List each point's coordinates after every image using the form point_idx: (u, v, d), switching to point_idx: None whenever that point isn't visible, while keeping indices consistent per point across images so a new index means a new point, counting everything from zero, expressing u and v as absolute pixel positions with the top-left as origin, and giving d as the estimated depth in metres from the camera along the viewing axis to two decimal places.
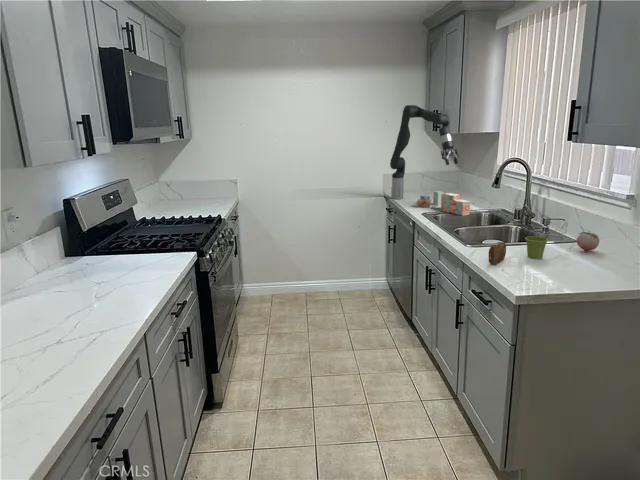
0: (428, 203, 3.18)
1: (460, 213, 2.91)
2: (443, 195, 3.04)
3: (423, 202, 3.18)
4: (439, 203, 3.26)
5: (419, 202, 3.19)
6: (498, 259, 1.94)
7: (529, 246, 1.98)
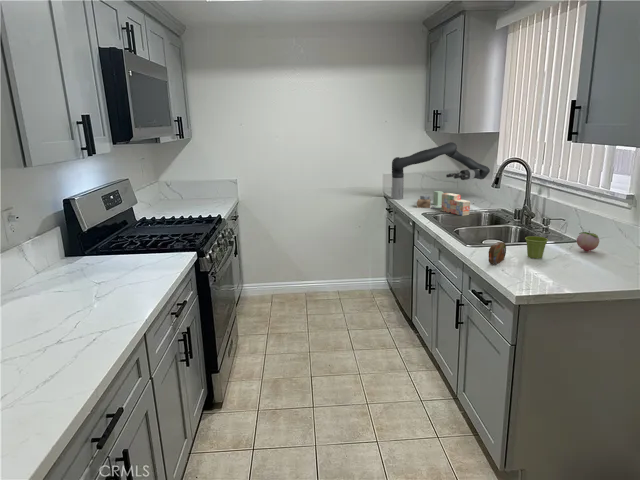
0: (428, 203, 3.18)
1: (460, 213, 2.91)
2: (443, 195, 3.04)
3: (423, 202, 3.18)
4: (439, 203, 3.26)
5: (419, 202, 3.19)
6: (498, 259, 1.94)
7: (529, 246, 1.98)
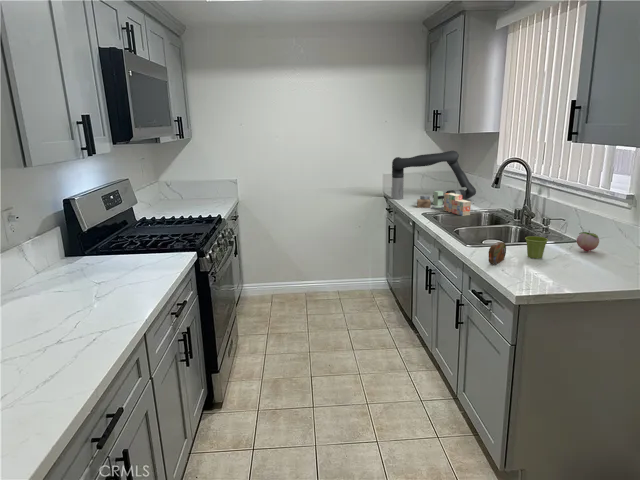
0: (429, 203, 3.18)
1: (461, 213, 2.91)
2: (445, 195, 3.04)
3: (424, 202, 3.18)
4: (439, 203, 3.26)
5: (420, 202, 3.19)
6: (498, 259, 1.94)
7: (529, 246, 1.98)
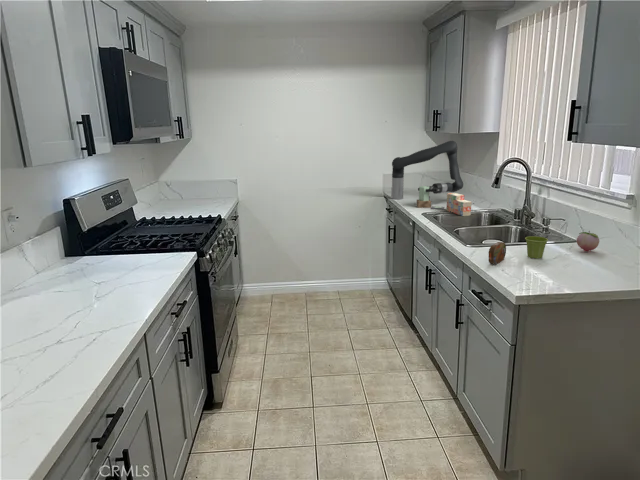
0: (430, 203, 3.18)
1: (461, 213, 2.90)
2: (448, 195, 3.04)
3: (425, 202, 3.18)
4: (425, 198, 3.20)
5: (421, 202, 3.19)
6: (498, 259, 1.94)
7: (529, 246, 1.98)
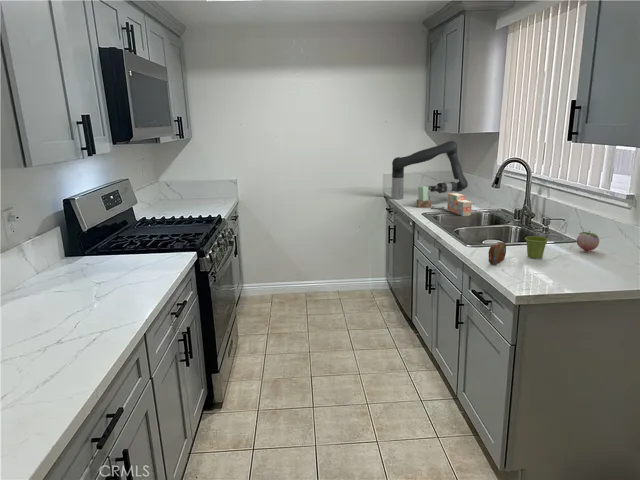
0: (430, 203, 3.18)
1: (461, 213, 2.90)
2: (449, 195, 3.04)
3: (425, 202, 3.18)
4: (424, 198, 3.19)
5: (421, 202, 3.19)
6: (498, 259, 1.94)
7: (529, 246, 1.98)
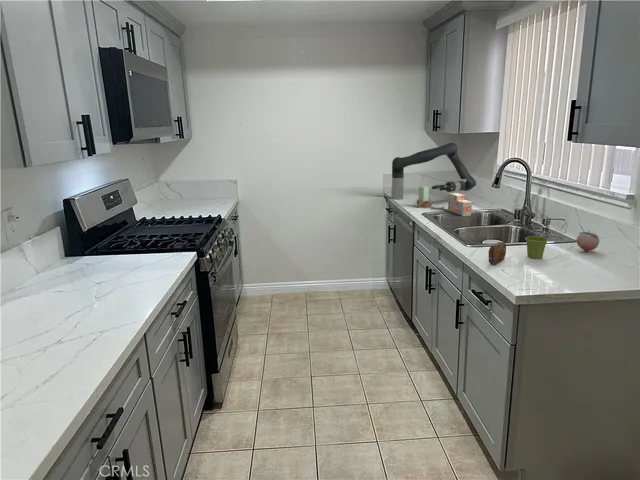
0: (430, 203, 3.18)
1: (461, 213, 2.90)
2: (449, 195, 3.04)
3: (425, 202, 3.18)
4: (425, 198, 3.20)
5: (421, 202, 3.19)
6: (498, 259, 1.94)
7: (529, 246, 1.98)
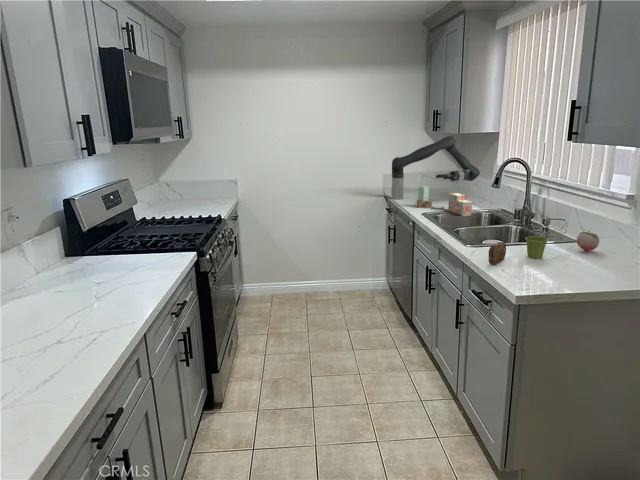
0: (430, 203, 3.18)
1: (461, 213, 2.90)
2: (450, 195, 3.04)
3: (425, 202, 3.18)
4: (425, 198, 3.20)
5: (421, 202, 3.19)
6: (498, 259, 1.94)
7: (529, 246, 1.98)
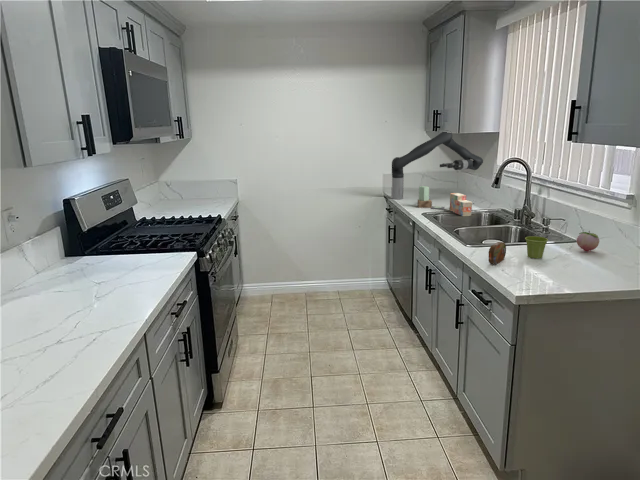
0: (430, 203, 3.18)
1: (461, 213, 2.90)
2: (451, 195, 3.04)
3: (425, 202, 3.18)
4: (425, 198, 3.20)
5: (421, 202, 3.19)
6: (498, 259, 1.94)
7: (529, 246, 1.98)
